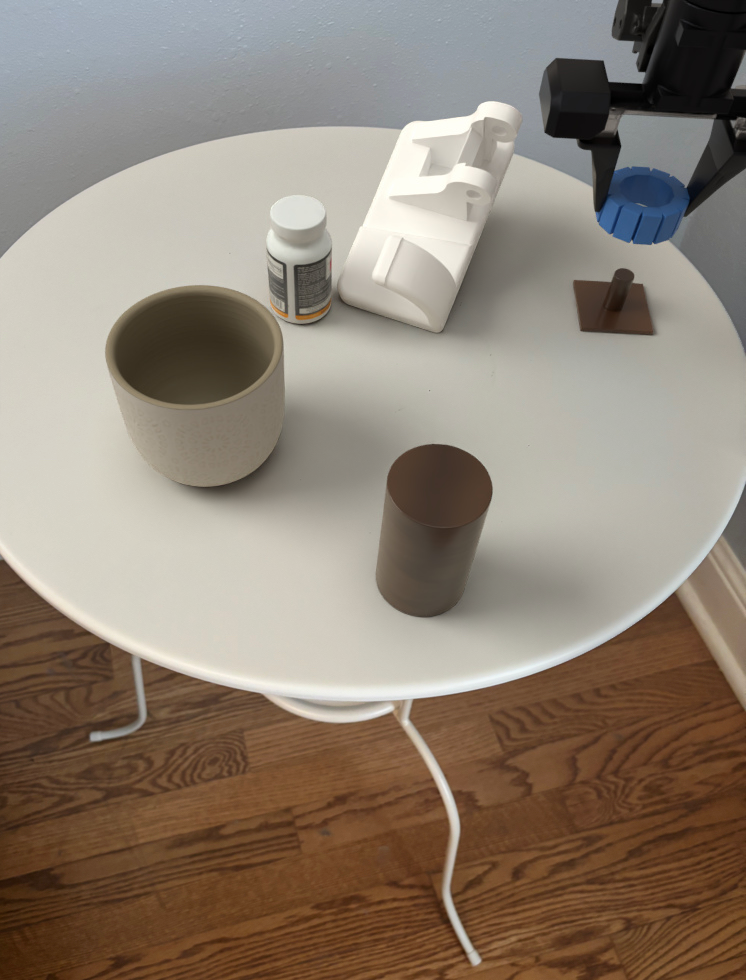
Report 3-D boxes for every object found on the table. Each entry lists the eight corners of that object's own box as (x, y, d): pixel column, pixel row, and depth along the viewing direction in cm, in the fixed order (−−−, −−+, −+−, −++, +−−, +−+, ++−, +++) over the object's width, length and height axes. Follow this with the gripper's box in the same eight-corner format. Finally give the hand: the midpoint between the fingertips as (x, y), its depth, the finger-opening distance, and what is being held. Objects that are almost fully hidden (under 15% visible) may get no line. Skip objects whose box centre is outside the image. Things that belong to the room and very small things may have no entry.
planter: (311, 413, 70) (311, 312, 61) (246, 526, 63) (235, 432, 54) (178, 370, 72) (159, 266, 63) (103, 475, 66) (69, 376, 57)
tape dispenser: (450, 358, 81) (445, 301, 68) (342, 323, 83) (318, 261, 70) (524, 173, 82) (532, 84, 69) (416, 144, 84) (405, 51, 72)
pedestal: (463, 542, 63) (490, 446, 54) (466, 619, 60) (495, 531, 50) (376, 537, 63) (387, 440, 54) (374, 614, 60) (385, 525, 50)
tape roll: (670, 196, 68) (681, 168, 66) (683, 247, 64) (696, 218, 62) (591, 192, 68) (599, 163, 66) (600, 242, 64) (610, 213, 62)
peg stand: (641, 286, 80) (655, 252, 77) (652, 335, 76) (667, 301, 73) (572, 283, 80) (583, 248, 77) (580, 330, 76) (592, 297, 73)
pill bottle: (334, 287, 79) (336, 193, 70) (327, 329, 75) (329, 235, 67) (274, 282, 79) (269, 187, 70) (265, 324, 76) (259, 229, 67)
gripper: (834, -57, 57) (737, 158, 70) (559, -71, 57) (514, 146, 70) (884, 24, 51) (768, 243, 64) (576, 7, 51) (522, 229, 64)
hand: (639, 211), depth 65 cm, fingers closed on tape roll, 6 cm apart
